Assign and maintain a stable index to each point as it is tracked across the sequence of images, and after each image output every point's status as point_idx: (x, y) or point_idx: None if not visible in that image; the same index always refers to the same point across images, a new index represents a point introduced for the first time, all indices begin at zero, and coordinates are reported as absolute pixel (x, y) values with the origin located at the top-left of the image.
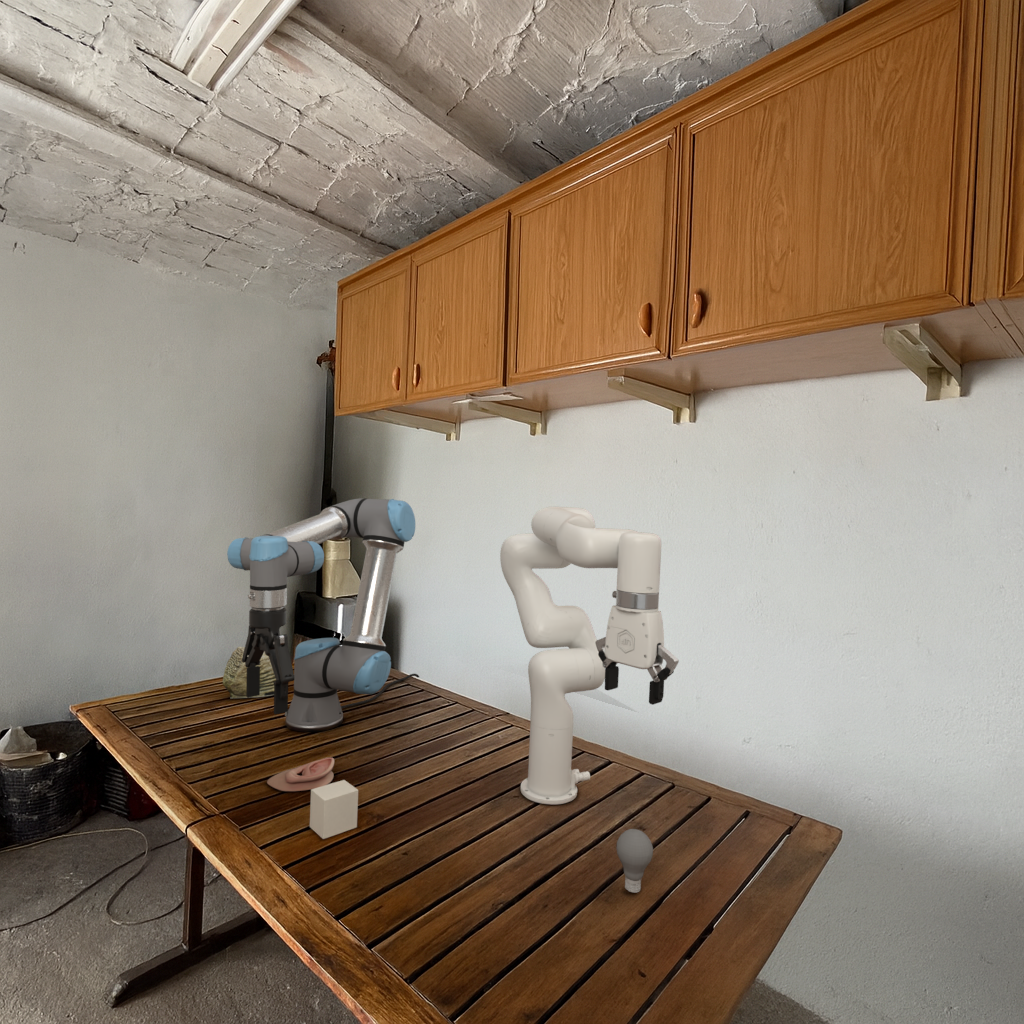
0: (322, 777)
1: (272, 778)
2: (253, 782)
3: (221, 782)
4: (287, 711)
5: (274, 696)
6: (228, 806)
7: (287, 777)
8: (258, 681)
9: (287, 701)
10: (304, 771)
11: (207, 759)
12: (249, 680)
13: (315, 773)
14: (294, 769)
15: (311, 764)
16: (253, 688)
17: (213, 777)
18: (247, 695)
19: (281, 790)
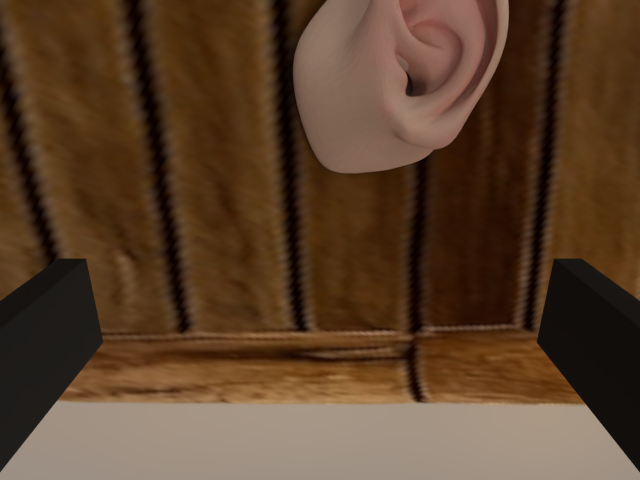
0: (491, 22)
1: (342, 158)
2: (291, 195)
3: (231, 266)
4: (582, 261)
5: (624, 440)
6: (392, 306)
7: (427, 145)
8: (11, 331)
9: (632, 300)
10: (409, 60)
11: (28, 236)
12: (16, 431)
13: (476, 45)
14: (388, 94)
15: (401, 18)
16: (61, 341)
17: (182, 271)
18: (89, 350)
19: (418, 160)
